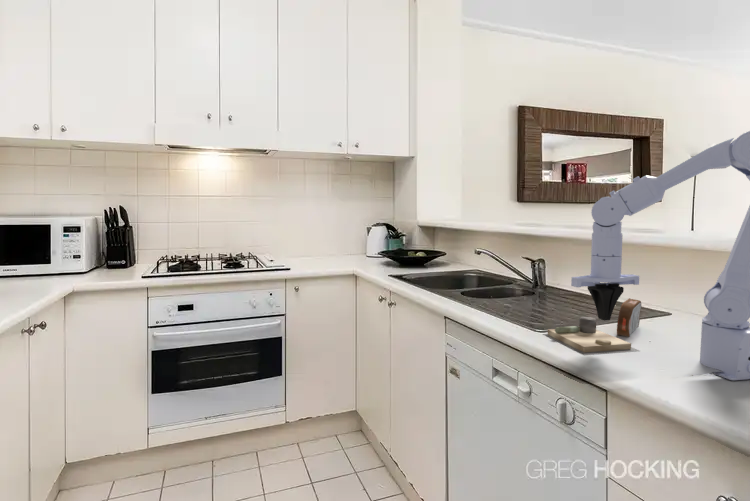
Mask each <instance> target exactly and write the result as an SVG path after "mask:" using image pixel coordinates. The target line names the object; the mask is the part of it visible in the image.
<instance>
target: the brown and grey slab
mask: <svg viewBox="0 0 750 501" xmlns="http://www.w3.org/2000/svg"><path fill="white" fill-rule="evenodd" d="M641 309H642V301H641V300H638V299H636V298H635V299H634V298H631V297H630V298H627V299H626V300H625V301H624V302H622V304H621V305H620V308H619V312H618V315H617V316H618V317H617V324H616V335H617V336H621V337H627V338H629V337H630V336H631V335H632V333H634V331H635V330H636V329H637V328H639V326H640V317H641V315H640V314H641Z"/></svg>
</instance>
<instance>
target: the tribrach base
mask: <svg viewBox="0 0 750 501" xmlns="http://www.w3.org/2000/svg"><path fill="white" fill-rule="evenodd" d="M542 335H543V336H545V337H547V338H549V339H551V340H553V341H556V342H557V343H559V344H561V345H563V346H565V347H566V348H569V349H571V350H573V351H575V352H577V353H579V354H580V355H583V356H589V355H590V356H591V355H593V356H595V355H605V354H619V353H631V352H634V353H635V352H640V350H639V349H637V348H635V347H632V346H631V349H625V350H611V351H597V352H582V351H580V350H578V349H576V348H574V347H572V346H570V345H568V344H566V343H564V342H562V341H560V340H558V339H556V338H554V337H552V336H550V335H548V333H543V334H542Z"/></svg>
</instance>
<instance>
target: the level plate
mask: <svg viewBox="0 0 750 501" xmlns="http://www.w3.org/2000/svg"><path fill="white" fill-rule="evenodd" d="M547 334H548V335H550V336H552V337H554V338H556V339H558V340H560V341H562V342H564V343H566V344H568V345H570V346H572V347H574V348H576V349H578V350H580V351H582V352H597V351H611V350H625V349H631V347H632V343H631V342H629V341H627V340H625V339H621V338H619V337H616V336H613V335H612V334H608V333H606V332H604V331H601V330H598V329H597V318H595V317H591V316H579V323H578V325H571V326H556V327H555V328H551V329H549V328H548V329H547Z"/></svg>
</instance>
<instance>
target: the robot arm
mask: <svg viewBox="0 0 750 501" xmlns="http://www.w3.org/2000/svg"><path fill="white" fill-rule="evenodd" d="M734 138H735V137H732V138H730V139H726V140H725V141H723V142H720V143H717V144H714V145H712V146H710V147H708V148H706V149H704V150H702V151H701V152H698V153H697V154H694V155H693V156H692V157H689V158H688V159H687V160H685V161H682V162H681V163H680V164H677V165H676V166H674V167H672V168H670V169H669V170H667V171H665V172H664V173H662V174H660V175H658V176H651V175H647V174H646V175H644V176H642V177H641V178H640V176H636V177H634V178H632V182H631V183H629V184H627V185H625V186H624V187H622V188H620V189H618V190H617V191H615V190H612V191H610V192H609V195H610V196H602V197H600V198H599V200H597V201H596V202H595V203H594V204H593V206H592V208H591V212H590V213H591V217H592V219H593V220H594V221H593V222H592V233H591V251H590V252H591V255H590V256H591V257H590V273H589V274H588V275H586V274H585V275H580V276H579V275H578V276H571V281H570V282H571V287H574V288H581V287H587V290H588V292H589V294H590V296H591V298H592V300H593V303H594V306H595V308H596V313H597V318H598V319H599V320H602V321H611V318H612V314H613V311H614V309H615V307H616V304H617V302H618V301H619V299H620V298H621V295H622V294H623V293H624V290H625V288H624V286H623V285H625V286H626V285H634V286H635V285H636V286H637V285H640V275H637V274H634V273H633V274H630V273H629V274H622V262H623V261H622V260H623V258H622V256H623V233H622V224H623V222H622V221H623V219H624V216H629V217H632V216H634V215H635V214H637V213H639V212H641V211H644V210H645V209H647V208H649V207H650V206H653V205H655V204H657V203H658V202H660V201H662V200H663V198H664V195H665V192H666V191H667V190H669V189H671V188H673V187H675V186H677V185H679V184H681V183H683V182H686V181H688V180H689V179H691V178H693V177H695V176H698V175H699V174H702V173H703V172H704V173H705V172H706V171H709V170H717V169H727V168H728V167H732V168H734V169H735V170H737V171H738V172H740V173H742V174H744V175H745V176H746V178H747V179H748V181H749V182H750V130H748V131H746V132H743V133H742V134H740V135H739V136H738V137H737V138H736V139H734ZM703 303H704V307H705V308H706V309H707V311H708V313H707V314H706V315H705V316H704V317H702V318H701V331H700V332H701V333H700V352H699V362H700V364H701V365H703V366H706V367H708V368H711V369H714V370H719V371H714V372H712V371H711V372H710V373H711V374H713V375H717V376H719V377H721V378H724V379H726V380H728V381H742V380H743V381H744V380H750V322H749V319H750V205H749V207H748V209H747V211H746V214H745V216H744V218H743V221H742V224H741V225H740V228H739V231H738V234H737V236H736V238H735V241H734V244H733V246H732V248H731V251H730V253H729V255H728V258H727V260H726V263H725V265H724V267H723V270H722V272H721V273H720V274H719V276H718V278H717V280H716V282H715V284H714V285H713V286H711V288H710V289H708V290H707V291H706V293H705V294H704V297H703Z"/></svg>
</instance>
